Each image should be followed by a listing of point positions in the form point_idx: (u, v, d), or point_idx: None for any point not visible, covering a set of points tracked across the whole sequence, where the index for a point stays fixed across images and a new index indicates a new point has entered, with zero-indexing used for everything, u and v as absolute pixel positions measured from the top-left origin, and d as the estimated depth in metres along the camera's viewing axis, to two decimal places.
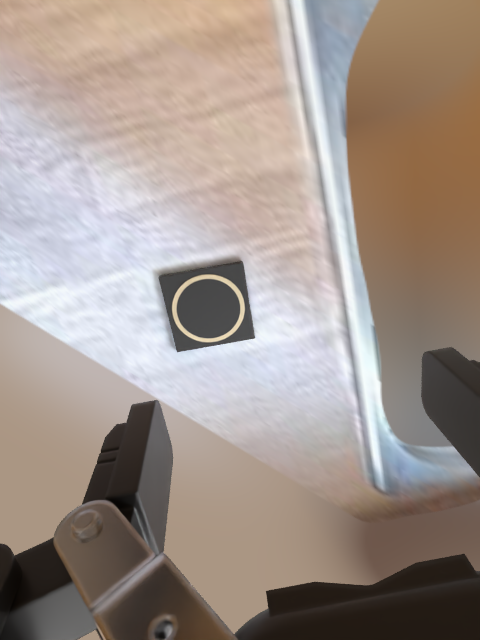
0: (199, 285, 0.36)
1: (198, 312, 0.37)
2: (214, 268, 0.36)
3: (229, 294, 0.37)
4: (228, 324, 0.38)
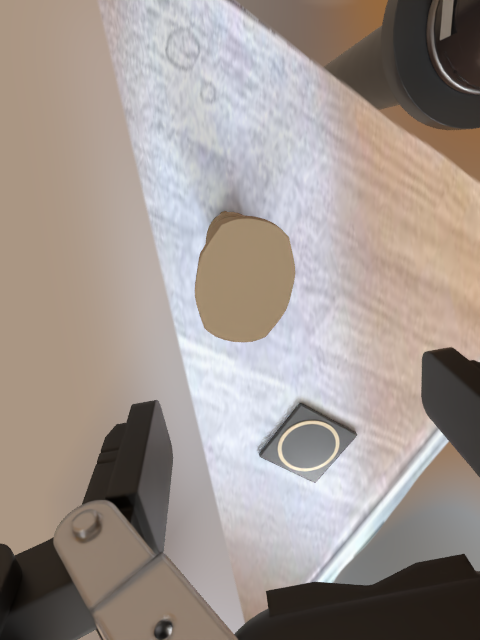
0: (319, 428, 0.42)
1: (300, 444, 0.43)
2: (338, 425, 0.42)
3: (330, 446, 0.43)
4: (310, 464, 0.44)
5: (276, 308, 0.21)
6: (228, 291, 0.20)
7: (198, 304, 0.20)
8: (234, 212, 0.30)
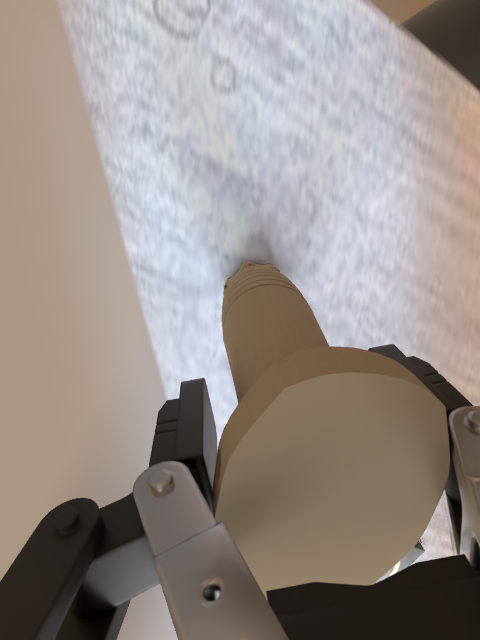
0: None
1: None
2: None
3: None
4: None
5: (395, 543, 0.09)
6: (292, 519, 0.09)
7: None
8: (266, 269, 0.19)
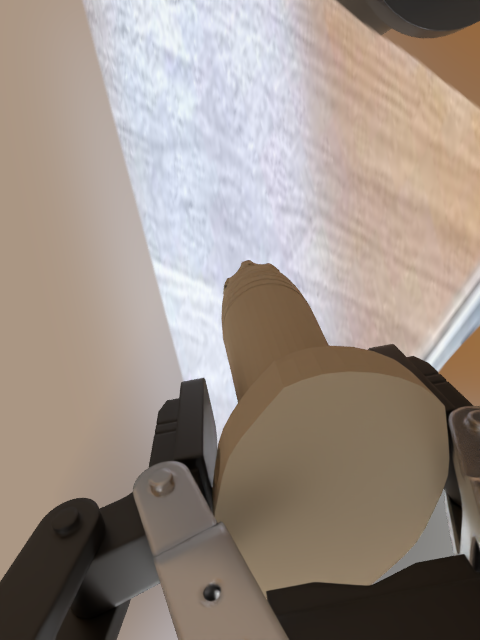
0: None
1: None
2: None
3: None
4: None
5: (395, 542, 0.09)
6: (292, 517, 0.09)
7: None
8: (266, 268, 0.19)
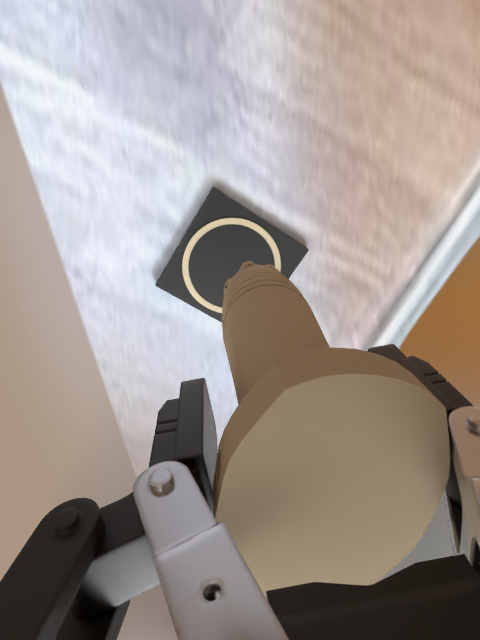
0: (246, 234, 0.26)
1: (218, 263, 0.27)
2: (277, 230, 0.27)
3: None
4: None
5: (395, 544, 0.09)
6: (293, 519, 0.09)
7: None
8: (267, 269, 0.19)
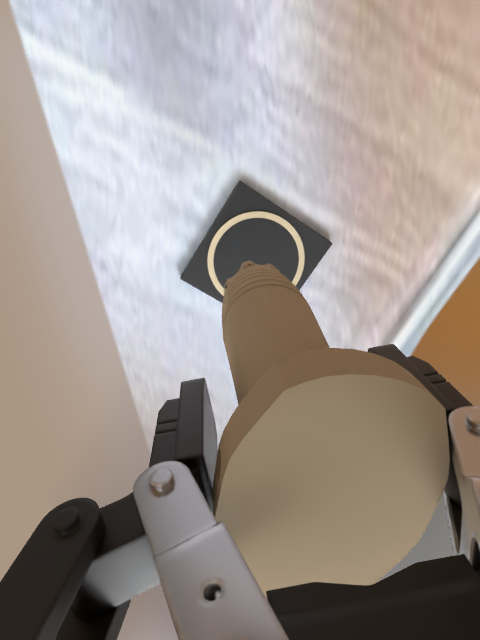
0: (271, 228, 0.27)
1: (243, 256, 0.27)
2: (301, 224, 0.27)
3: (290, 263, 0.28)
4: None
5: (396, 544, 0.09)
6: (292, 519, 0.09)
7: None
8: (267, 269, 0.19)
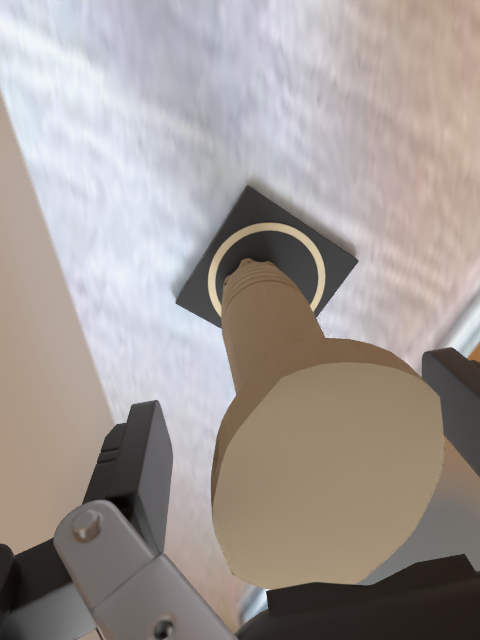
0: (285, 242, 0.22)
1: None
2: (322, 238, 0.22)
3: (308, 285, 0.23)
4: None
5: (391, 532, 0.09)
6: (289, 508, 0.09)
7: (220, 534, 0.09)
8: (266, 266, 0.19)
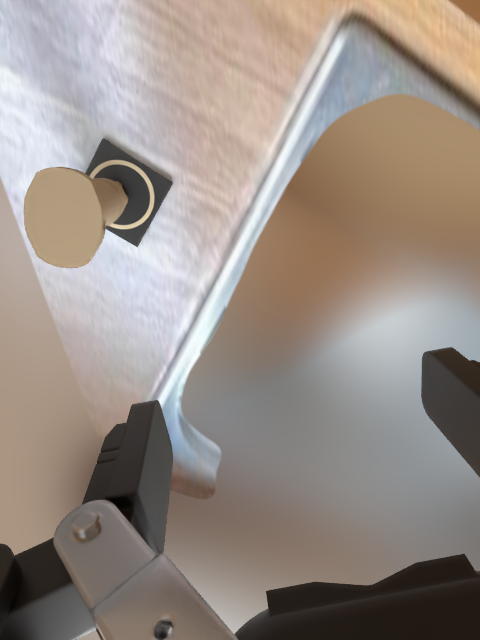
0: (128, 171, 0.40)
1: None
2: (149, 169, 0.40)
3: (144, 197, 0.41)
4: (126, 219, 0.41)
5: (92, 240, 0.27)
6: (51, 226, 0.26)
7: (29, 236, 0.27)
8: (105, 178, 0.37)
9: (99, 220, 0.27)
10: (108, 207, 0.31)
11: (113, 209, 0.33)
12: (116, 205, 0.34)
